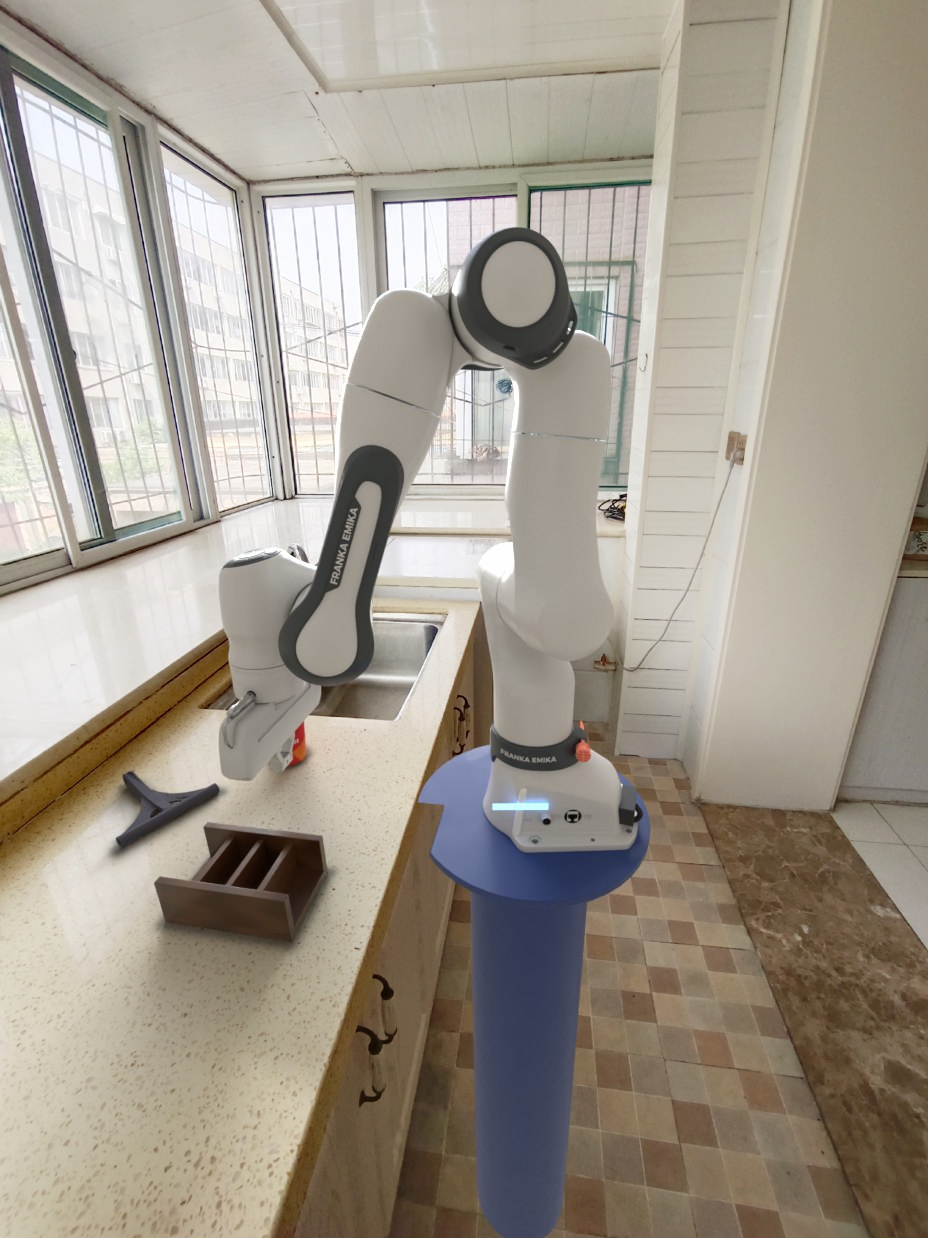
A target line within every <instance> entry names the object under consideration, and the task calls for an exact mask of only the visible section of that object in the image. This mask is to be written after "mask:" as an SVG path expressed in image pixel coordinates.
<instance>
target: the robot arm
mask: <svg viewBox="0 0 928 1238" xmlns="http://www.w3.org/2000/svg"><path fill="white" fill-rule="evenodd" d="M571 322H572V324H571ZM578 322H579V317H578V312H577V310H576V307H575V304H574V302H573V298H572V295H571V292H570V287H569V280H568V276H567V273H566V269H565V266H564V263H563V260H562V257H561V256H560V254H559V252H558V251H557V249H556V247H555V246H554V245H553V244H552V242H551V241H550V240H549V239H548V238H547V237H546V236H544V235H543V234H542V233H540V232H539V231H536V230H534V229H531V228H528V227H523V226H509V227H503V228H501V229H498V230H496V231H493V232H491V233H489V234H488V235H486V236H485V237H483V238H482V239H481V240H480V241H478V242H477V243H476V244H475V245H474V246H473V247H472V248H471V249H470V251H469V252H468V254H467V255H466V257H465V259H464V260H463V262H462V264H461V267H460V269H459V272H458V273H457V275H456V278H455V280H454V282H453V284H452V285H451V287H450V288H449V289H448V290H446V291H445V292H443V293H440V294H430V293H427V292H425V291H423V290H420V289H416V288H410V287H397V288H391V289H387V290H386V291H385V292H383V293H382V294H380V295H379V296H378V298H376V299H375V301H374V303H373V305H372V306H371V310H370V311H369V313H368V316H367V318H366V320H365V322H364V324H363V327H362V330H361V332H360V333H359V337H358V338H357V339H358V340H357V342H356V344H355V347H354V350H353V354H352V356H351V360H350V362H349V365H348V369H347V372H346V376H345V379H344V384H343V387H342V390H341V391H342V392H341V397H340V400H339V401H340V402H339V407H338V411H337V412H338V413H337V420H336V429H335V445H334V446H335V448H334V449H335V450H334V451H335V452H334V491H333V502H332V508H331V514H330V517H329V521H328V525H327V529H326V533H325V537H324V540H323V544H322V547H321V551H320V554H319V557H318V561H317V565H314V564H312V563H308V562H305V561H303V560H300V559H298V558H296V557H295V556H293V555H291V554H290V553H288V551H286V550H285V549H282V548H280V547H262V548H261V547H260V548H256V549H252V550H248V551H245V552H242V553H240V554H237V555H235V556H233V557H232V558H231V559H229V560H228V561H227V562H225V564H224V565H222V568H221V569H220V571H219V575H218V599H219V609H220V610H219V611H220V616H221V623H222V628H223V632H224V633H225V635H226V637H227V639H228V644H229V650H228V657H227V658H228V659H227V660H228V665H229V670H230V671H229V672H230V677H231V683H232V689H233V693H234V696H235V697H236V699H238V701H237V702H236V703H235V704H233V705H231V706H230V707H229V708H228V709H227V711H226V716H225V718H223V720H222V721H221V723H220V726H219V729H218V754H219V764H220V772H221V774H222V776H223V777H224V778H226V779H228V780H234V781H240V782H251V781H253V780H254V779H255V778H256V777H257V776H258V775H259V773H261V771H262V770H263V768H264V767H265V766H266V765H267V764H268V763H269V768H270V771H271V772H272V773H276V774H282V773H283V772H284V771H285V770H286V768H287V767H289V766H288V765H289V763H290V762H291V761H292V760H293V755H292V748H293V743H294V738H295V731H296V729H297V728H298V727H299V726H300V725H301V724H302V723H303V721H304V722H305V720H306V719H307V718H308V717H309V716H310V715H311V713H312V712H313V711H314V710H315V709H316V708H318V706H319V705H320V702H321V697H322V687H337V686H341V685H345V684H348V683H350V682H353V681H354V680H356V679H357V678H359V677H360V676H361V675H362V674H363V673H365V672H366V670H367V669H368V668H369V666H370V664H371V663H372V660H373V659H374V653H375V638H374V637H375V635H374V631H373V629H374V627H373V623H374V618H373V617H374V602H373V601H374V600H373V595H374V590H375V586H376V583H377V580H378V576H379V572H380V569H381V565H382V562H383V558H384V556H385V555H384V554H385V551H386V548H387V544H388V541H389V537H390V533H391V530H392V528H393V525H394V524H393V523H394V522H395V519H396V517H397V514H398V512H399V510H400V508H401V506H402V504H403V503H404V500H405V498H406V496H407V495H408V492H409V491H410V488H411V486H412V485H413V483H414V481H415V479H416V477H417V475H418V474H419V472H420V469H421V468H422V466H423V464H424V462H425V459H426V457H427V455H428V453H429V450H430V448H431V446H432V443H433V441H434V438H435V435H436V433H437V430H438V427H439V424H440V420H441V418H440V417H442V414H443V410H444V407H445V403H446V400H447V397H448V394H449V391H450V388H451V386H452V384H453V382H454V380H455V378H456V376H457V374H458V373H459V371H479V372H494V371H501V370H505V371H506V373H507V374H508V376H509V378H510V380H511V384H512V388H513V392H514V393H513V395H514V396H513V398H514V409H513V415H512V423H511V433H510V440H509V449H508V450H509V451H508V458H507V468H506V477H505V486H504V493H503V494H504V495H503V497H504V498H503V500H504V505H505V509H506V512H507V516H508V519H509V525H510V526H509V527H510V535H511V541H507V542H502V543H498V544H496V545H494V546H492V547H491V548H490V549H488V550H487V551H486V552H484V554H483V555H482V557H481V559H479V563H478V565H477V568H476V572H475V573H476V574H475V579H476V585H477V589H478V592H479V596H480V600H481V604H482V612H483V620H484V626H485V627H484V628H485V633H486V639H487V646H488V650H489V651H488V652H489V655H490V662H491V668H492V669H491V670H492V678H493V679H492V680H493V681H492V683H493V718H492V719H491V720H492V721H491V725H490V729H489V745H490V753H491V760H492V768H491V774H490V779H489V784H488V788H487V791H486V794H485V796H484V800H483V810H484V813H485V815H486V817H487V819H488V820H489V821H490V823H491V824H492V825H493V826H494V827H496V828H497V829H498V830H500V831H501V832H503V833H504V834H506V835H507V836H509V837H510V838H511V840H512V841H513V843H514V844H515V845H516V847H517V848H518V849H519V850H521V851H522V852H526V853H535V852H570V851H605V850H626V849H629V848H630V847H631V846H632V845H633V843H634V841H635V839H636V836H637V831H638V821H640V820H641V819H642V817H643V811H642V809H641V808H640V807H639V805H638V804H636V797H637V792H638V787H637V786H634V785H632V786H628V785H623V784H621V783H620V780H619V777H618V774H617V772H616V771H617V770H616V768H615V766H614V765H613V763H612V762H611V761H610V760H608V758H606V757H604V756H603V755H601V754H600V753H598V752H597V751H595V750H593V749H592V748H591V746H590V745H589V743H588V742H587V741H588V739H587V737H588V736H587V731H586V730H585V726H584V722H583V721H582V720H580V723H579V725H578V724H577V723H576V722H575V721H574V710H575V709H574V707H575V690H576V677H575V672H574V668H573V666H572V664H571V662H574V661H579V660H582V659H585V658H587V657H588V656H590V655H592V654H594V653H595V652H596V651H597V650H599V648H600V647H601V646H602V645H603V644H604V643H605V641H606V640H607V638H608V636H609V635H610V633H611V630H612V627H613V624H614V623H613V622H614V614H615V613H614V606H613V602H612V600H611V598H610V595H609V593H608V591H607V589H606V586H605V584H604V580H603V576H602V572H601V564H600V555H599V545H598V533H597V506H598V505H597V504H598V495H599V489H600V484H601V483H600V482H601V474H602V468H603V463H604V455H605V448H606V444H607V443H606V442H607V441H606V440H607V436H608V429H609V421H610V411H611V393H612V373H611V372H612V369H611V368H612V366H611V356H610V353H609V350H608V348H607V347H606V345H605V344H604V343H603V341H601V340H600V339H599V338H598V337H596V336H594V335H593V334H590V333H589V332H586V331H583V330H578V329H577V327H578ZM570 324H571V328H570ZM535 843H536V844H535Z"/></svg>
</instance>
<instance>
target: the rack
mask: <svg viewBox="0 0 928 1238" xmlns="http://www.w3.org/2000/svg"><path fill="white" fill-rule="evenodd" d="M203 833H204V836H205V840H206V841H205V842H206V844H207V845H206V846H207V849H208V853H209V857H208V859H207V860H206V861H205V862H204V863H203V864H202V866H201V867H200V868H199V870H198V871H197V872H196V873H195V875H194V876H193V877H192V878H191V879H190V880H189V879H182V878H175V877H170V876H169V877H168V876H161V875H160V876H158V878H157V879H156V880H155V881H154V882H153V885H154V888H155V892H156V895H157V898H158V902H159V905H160V909H161V912H162V916H163V919H164V922H165V923H167V924H174V925H180V926H187V927H194V928H200V929H206V930H212V931H218V932H224V933H231V934H237V935H243V936H249V937H256V938H264V939H269V940H275V941H281V942H289V943H293V940H294V938H295V936H296V935H297V933H298V931H299V929H300V927H301V926H302V923H303V921H304V920H305V917H306V916H307V914H308V912H309V910H310V908H311V906H312V904H313V903H314V900H315V899H316V896H317V894H318V892H319V890H320V889H321V887H322V885H323V883H324V881H325V879H326V877H327V876H328V873H329V872H328V871H329V870H328V865H327V858H326V851H325V850H326V849H325V843H324V837H323V835H321V834H313V833H304V832H297V831H290V830H289V831H287V830H280V829H270V828H263V827H254V826H245V825H237V824H230V823H223V822H222V823H220V822H211V821H207V822H206V823H205V824H204V825H203Z"/></svg>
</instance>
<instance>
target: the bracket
mask: <svg viewBox="0 0 928 1238" xmlns="http://www.w3.org/2000/svg"><path fill="white" fill-rule="evenodd" d="M122 782H123V783H124V786H126V787H127V789H128V790H130V791H131V792H132V793H133V794H134V795H136V796H137V797H138V798H139V799H140V804H141V805H140V810H139V813H138V815H136V818H135V820H133V822H132V823H131V824H130V826H129V827H128V828H127V829H126V830H124V831H123V832H122V833H121V834H120V835H118V836H116V837H115V839H116V840H115V841H116V843H117V845H118V847H119V848H120V849H123V848H124V847H127V846H129V844H131V843H133V842H134V841H136V840H138V839H140V838H142V837H144V836H145V835H147V834H149V833H151V832H152V831H154V830H156V829H158V828H159V827H161V826H162V825H164V824H166V823H168V822H170V821H171V820H173V819H175V818H177V817H178V816H180V815H182V814H184V813H186V812H187V811H189V810H191V809H192V808H194V807H196V806H198V805H200V804H201V803H203V802H205V801H206V800H208V799H210V798H211V797H213V796H215V795H218V794H219V793H220V787H219V786H218V784H217V783H216V782H214V783H212V784H210V785H208V786H207V787H203V788H200V789H196V790H190V791H184V792H164V791H158V790H155V789H151V788H150V787H149V786H147V784H146V783H145V782H144V781H143V780H142V779H141V778H140V777H139V776H138V775H137V773H135V771H134V770H133V769H132V770H129V771H127V772H125V773H123V774H122ZM173 803H174V804H173ZM156 812H157V813H158V814H156V815H154V814H155V813H156ZM153 815H154V816H153ZM152 816H153V817H152Z"/></svg>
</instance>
